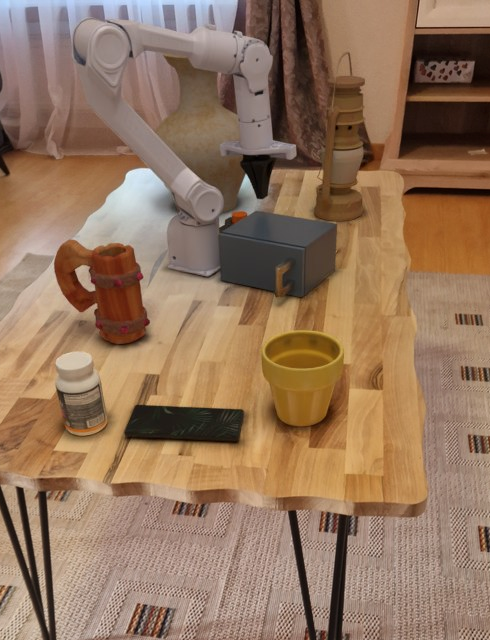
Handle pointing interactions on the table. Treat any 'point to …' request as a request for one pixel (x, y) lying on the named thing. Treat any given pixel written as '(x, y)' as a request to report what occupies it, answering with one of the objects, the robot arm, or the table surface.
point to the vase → (203, 131)
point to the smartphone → (185, 423)
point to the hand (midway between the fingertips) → (262, 197)
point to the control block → (226, 224)
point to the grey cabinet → (294, 240)
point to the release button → (238, 216)
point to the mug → (105, 288)
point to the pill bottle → (80, 394)
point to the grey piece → (262, 264)
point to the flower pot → (302, 374)
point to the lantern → (341, 150)
